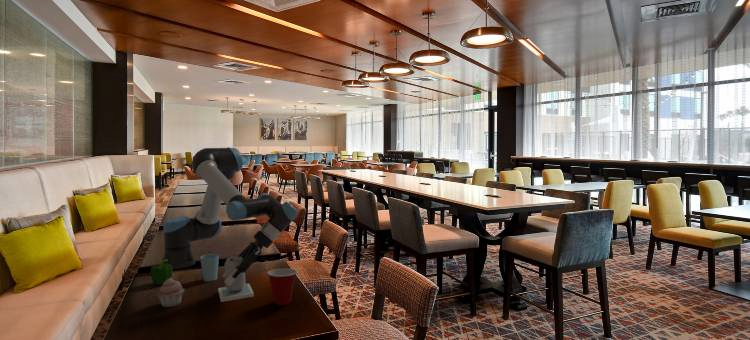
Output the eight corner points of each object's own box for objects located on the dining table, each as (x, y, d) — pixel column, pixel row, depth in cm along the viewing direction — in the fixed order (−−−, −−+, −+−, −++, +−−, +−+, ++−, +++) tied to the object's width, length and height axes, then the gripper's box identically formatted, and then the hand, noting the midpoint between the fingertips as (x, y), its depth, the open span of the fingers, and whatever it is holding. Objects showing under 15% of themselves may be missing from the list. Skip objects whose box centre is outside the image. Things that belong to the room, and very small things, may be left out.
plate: (218, 291, 165) (218, 287, 165) (249, 287, 170) (249, 283, 170) (220, 302, 154) (220, 297, 154) (253, 296, 159) (253, 292, 159)
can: (228, 285, 165) (227, 256, 165) (247, 284, 166) (246, 255, 165) (223, 292, 158) (222, 261, 157) (243, 291, 158) (242, 260, 158)
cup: (218, 275, 186) (217, 252, 185) (221, 280, 179) (220, 256, 178) (200, 278, 182) (199, 255, 181) (202, 283, 175) (201, 259, 174)
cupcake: (188, 298, 158) (187, 273, 157) (181, 308, 149) (180, 281, 148) (162, 300, 156) (161, 274, 156) (153, 310, 147) (152, 282, 147)
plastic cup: (303, 298, 156) (302, 267, 155) (288, 309, 146) (287, 276, 145) (278, 295, 160) (277, 265, 159) (262, 306, 150) (261, 273, 149)
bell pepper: (150, 288, 170) (149, 264, 170) (151, 282, 178) (150, 259, 177) (172, 285, 174) (171, 261, 173) (173, 279, 181) (172, 257, 181)
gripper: (278, 246, 158) (236, 294, 152) (269, 236, 176) (230, 278, 171) (264, 234, 155) (220, 282, 150) (255, 225, 174) (216, 267, 168)
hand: (226, 280), depth 160 cm, fingers closed on can, 7 cm apart
